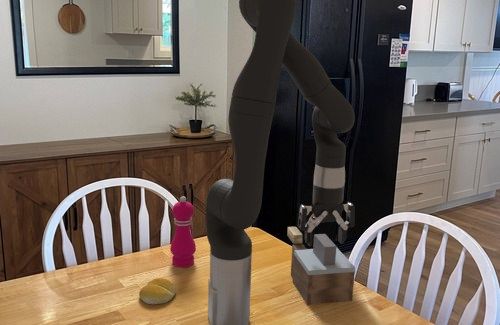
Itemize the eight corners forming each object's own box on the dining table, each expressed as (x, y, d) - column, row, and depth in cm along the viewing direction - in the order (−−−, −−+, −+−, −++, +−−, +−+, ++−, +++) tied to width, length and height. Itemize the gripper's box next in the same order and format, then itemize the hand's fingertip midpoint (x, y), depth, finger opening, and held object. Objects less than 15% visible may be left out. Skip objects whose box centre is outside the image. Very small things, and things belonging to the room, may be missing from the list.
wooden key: (293, 243, 134) (294, 235, 133) (287, 235, 140) (287, 227, 139) (301, 243, 134) (302, 234, 134) (295, 234, 140) (295, 226, 139)
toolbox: (306, 304, 121) (308, 270, 119) (288, 275, 136) (290, 244, 134) (352, 300, 124) (355, 267, 122) (329, 272, 139) (332, 242, 136)
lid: (308, 278, 120) (310, 251, 118) (293, 257, 131) (295, 232, 129) (354, 275, 122) (356, 248, 120) (336, 255, 134) (338, 230, 132)
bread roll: (133, 301, 121) (133, 287, 120) (153, 285, 129) (153, 271, 128) (162, 309, 118) (162, 294, 117) (181, 292, 126) (181, 278, 125)
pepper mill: (191, 269, 138) (191, 201, 133) (166, 266, 139) (166, 199, 134) (198, 258, 145) (199, 193, 140) (175, 255, 146) (175, 191, 141)
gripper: (349, 177, 126) (345, 236, 130) (296, 179, 123) (293, 239, 127) (362, 185, 119) (357, 247, 123) (306, 188, 116) (302, 251, 120)
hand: (325, 243), depth 125 cm, fingers open, 8 cm apart
